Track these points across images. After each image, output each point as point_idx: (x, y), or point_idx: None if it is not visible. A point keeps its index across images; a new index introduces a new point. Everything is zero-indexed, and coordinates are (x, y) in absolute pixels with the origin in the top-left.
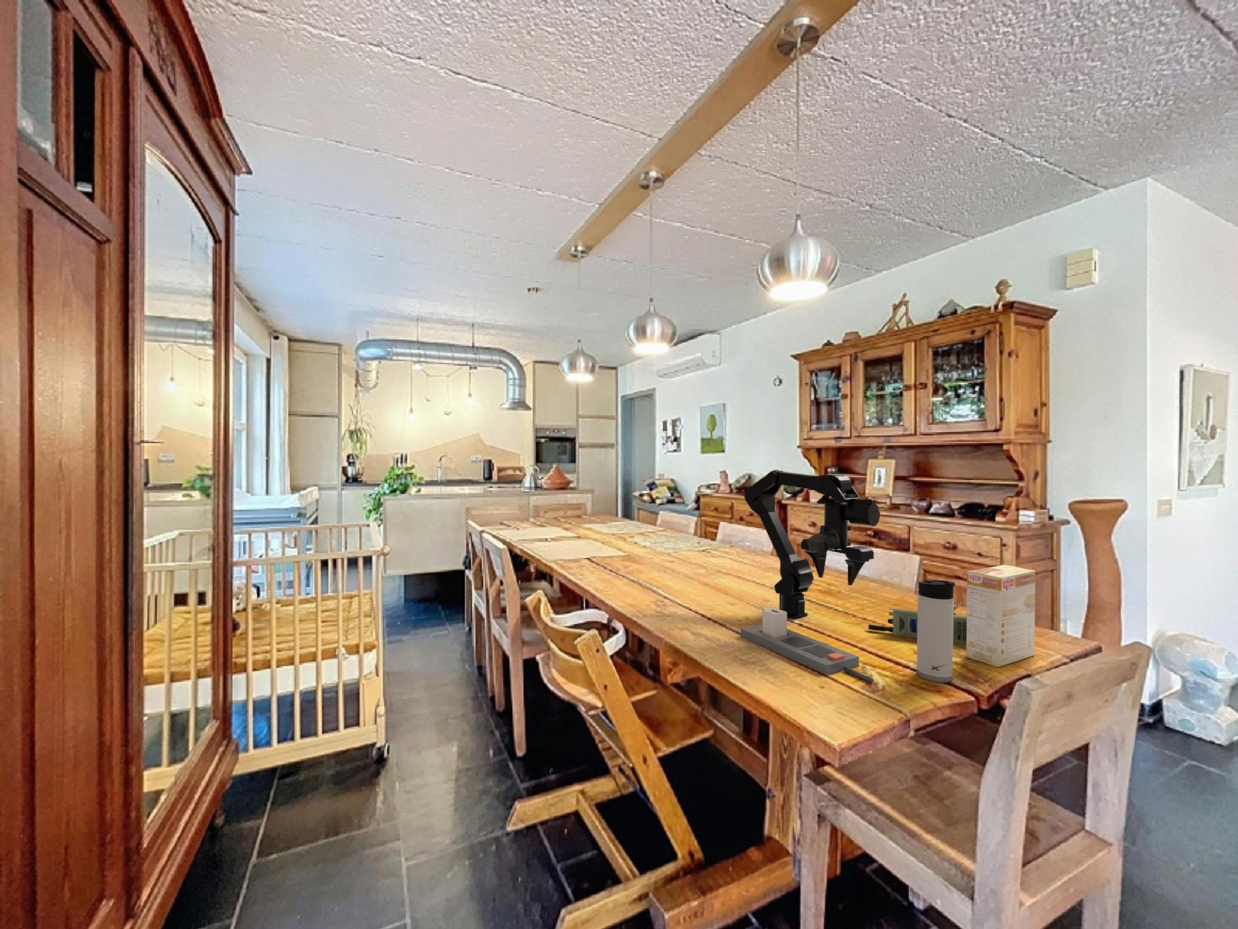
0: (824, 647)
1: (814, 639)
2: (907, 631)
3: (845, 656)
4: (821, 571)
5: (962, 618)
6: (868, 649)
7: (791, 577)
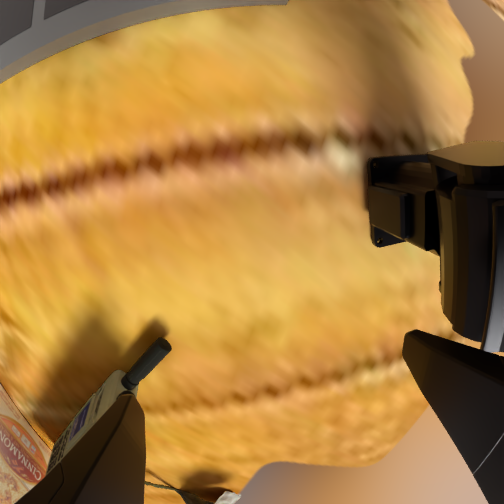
0: (11, 36)
1: (67, 33)
2: (95, 396)
3: None
4: (430, 373)
5: None
6: (24, 210)
7: (499, 164)
